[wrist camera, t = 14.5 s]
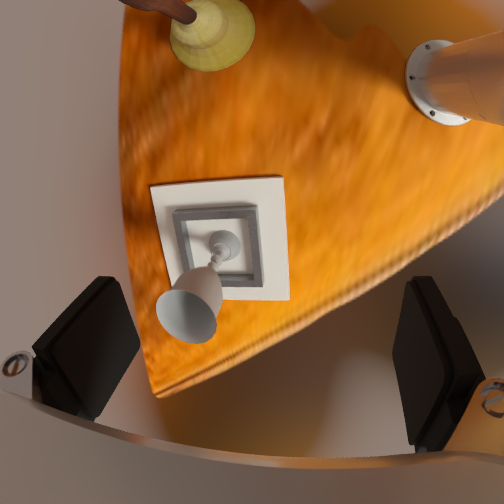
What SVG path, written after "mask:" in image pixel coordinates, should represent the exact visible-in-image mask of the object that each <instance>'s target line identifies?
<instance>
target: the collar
mask: <svg viewBox="0 0 504 504" xmlns="http://www.w3.org/2000/svg"><path fill="white" fill-rule="evenodd" d="M172 218H173V223H174V228H175V233H176V238H177V243H178V248H179V253H180V258H181V262H182V267H183V272H186V271H189V270H191V269H194V268H195V266H194V261H193V256H192V251H191V245H190V240H189V235H188V229H187V224H186V221H193V220H215V219H240V218H248V226H249V235H250V244H251V254H252V263H253V272H254V274H218V276H219V279H220V282H221V286H222V287H263V285H264V281H265V280H264V269H263V258H262V247H261V236H260V225H259V214H258V205H247V206H225V207H207V208H190V209H176V210H175V211H174V212H173V213H172Z"/></svg>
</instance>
